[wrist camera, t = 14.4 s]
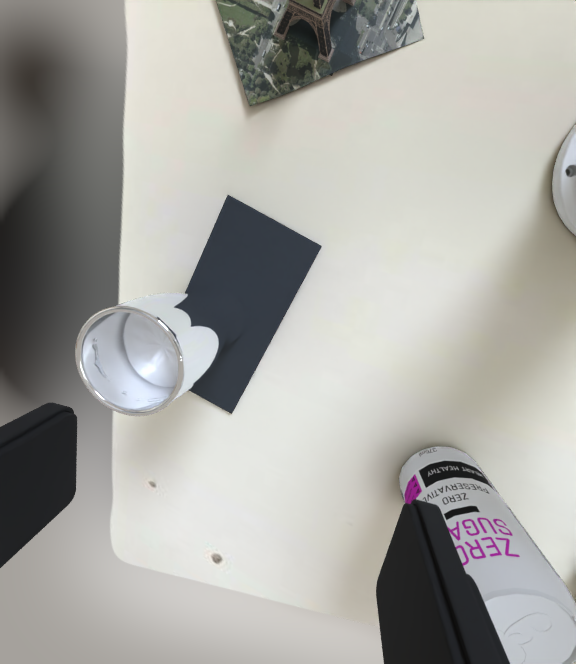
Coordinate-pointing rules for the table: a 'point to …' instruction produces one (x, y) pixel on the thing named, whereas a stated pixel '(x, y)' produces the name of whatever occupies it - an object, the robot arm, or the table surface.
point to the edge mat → (249, 290)
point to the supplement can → (497, 557)
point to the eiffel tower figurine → (311, 38)
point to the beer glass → (155, 347)
